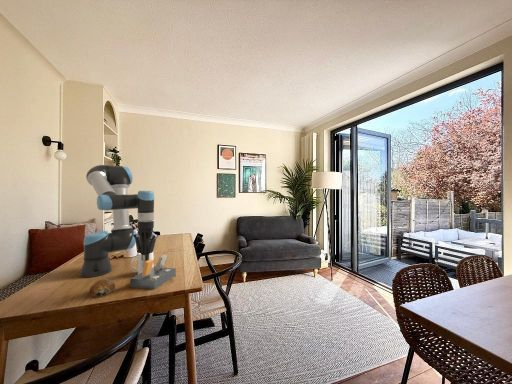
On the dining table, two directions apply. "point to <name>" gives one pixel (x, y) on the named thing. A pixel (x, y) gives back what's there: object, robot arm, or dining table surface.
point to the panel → (154, 276)
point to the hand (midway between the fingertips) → (145, 266)
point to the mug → (141, 262)
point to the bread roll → (102, 288)
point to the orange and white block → (147, 268)
